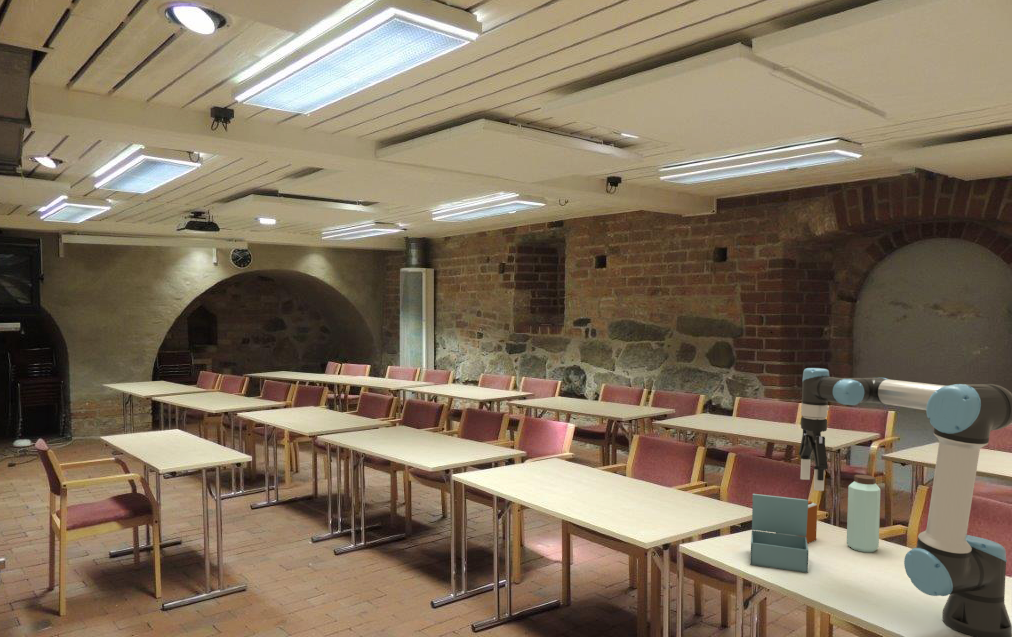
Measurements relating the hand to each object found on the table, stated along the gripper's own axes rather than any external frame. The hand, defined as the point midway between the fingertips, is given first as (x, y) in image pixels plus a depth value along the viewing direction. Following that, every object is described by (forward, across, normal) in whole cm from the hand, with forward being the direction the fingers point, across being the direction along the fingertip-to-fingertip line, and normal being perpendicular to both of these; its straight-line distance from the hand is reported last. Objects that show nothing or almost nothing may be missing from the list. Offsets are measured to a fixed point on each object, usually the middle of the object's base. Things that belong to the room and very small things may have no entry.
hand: (811, 484), depth 220 cm
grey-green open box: (+27, +7, +7) cm, 29 cm away
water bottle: (+28, +26, -26) cm, 45 cm away
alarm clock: (+28, +30, -5) cm, 41 cm away
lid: (+14, +11, +6) cm, 19 cm away
